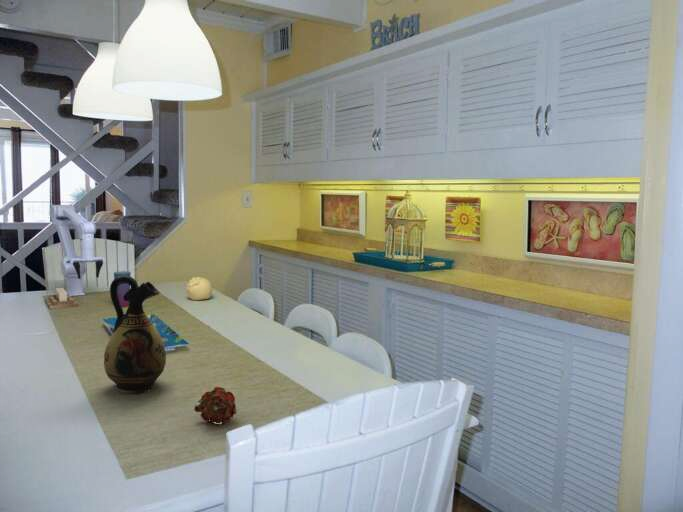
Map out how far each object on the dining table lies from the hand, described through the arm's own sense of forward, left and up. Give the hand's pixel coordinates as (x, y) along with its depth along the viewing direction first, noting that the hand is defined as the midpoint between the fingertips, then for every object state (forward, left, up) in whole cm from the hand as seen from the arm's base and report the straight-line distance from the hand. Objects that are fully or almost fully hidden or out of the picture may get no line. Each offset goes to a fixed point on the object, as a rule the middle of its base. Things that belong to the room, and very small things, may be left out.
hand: (88, 277), depth 250 cm
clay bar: (+5, -12, -9) cm, 16 cm away
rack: (+5, -12, -10) cm, 16 cm away
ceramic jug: (+123, -10, -10) cm, 124 cm away
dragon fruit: (+154, +1, -10) cm, 154 cm away
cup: (+22, +10, -10) cm, 26 cm away
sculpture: (+23, +44, -10) cm, 51 cm away
